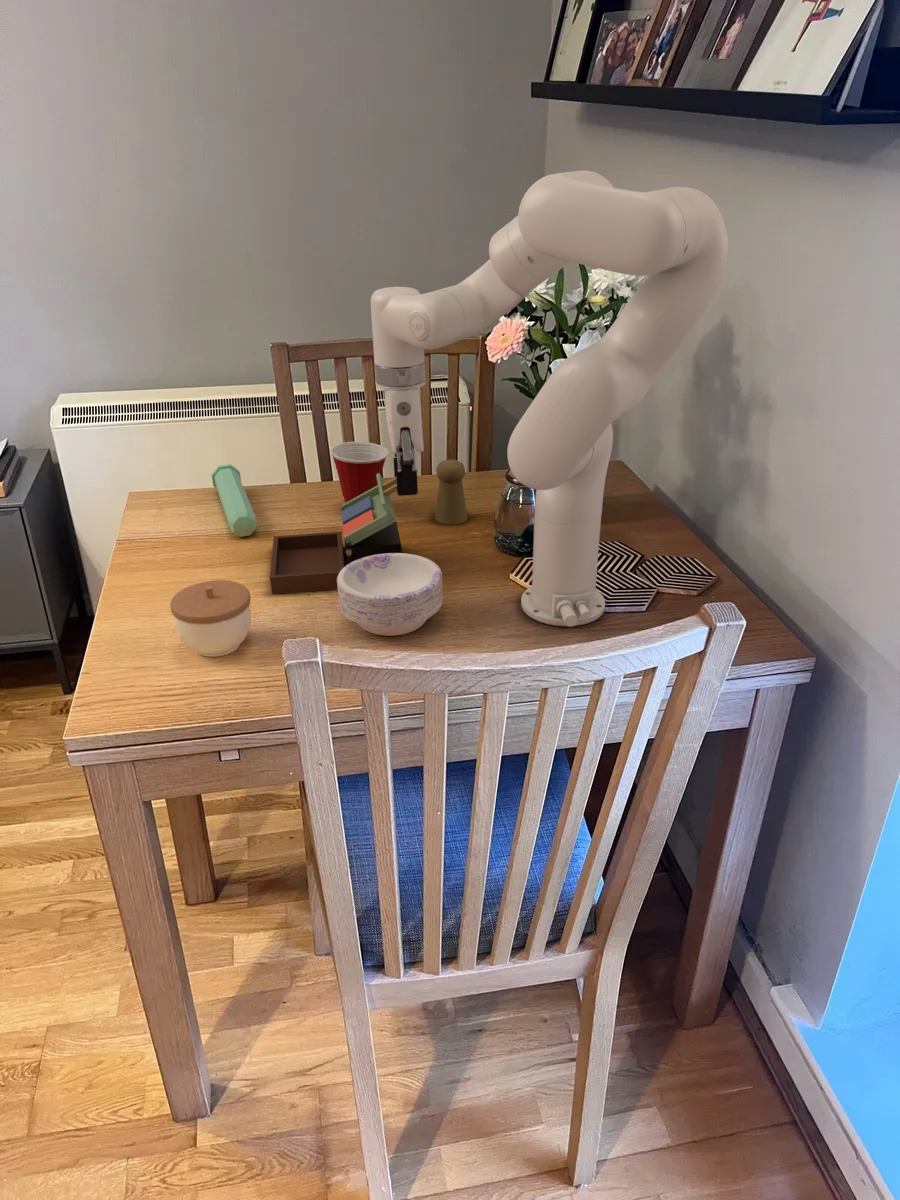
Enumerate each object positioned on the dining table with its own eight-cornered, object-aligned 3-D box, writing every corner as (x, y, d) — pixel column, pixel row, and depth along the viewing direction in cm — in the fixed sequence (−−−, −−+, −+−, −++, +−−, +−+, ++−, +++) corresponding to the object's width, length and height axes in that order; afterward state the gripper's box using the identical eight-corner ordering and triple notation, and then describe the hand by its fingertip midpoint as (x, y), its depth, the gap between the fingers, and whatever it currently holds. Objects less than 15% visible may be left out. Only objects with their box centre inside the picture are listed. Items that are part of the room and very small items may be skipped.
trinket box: (259, 623, 129) (251, 567, 124) (253, 663, 120) (244, 603, 115) (185, 629, 128) (174, 572, 123) (173, 669, 118) (161, 609, 114)
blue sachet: (373, 510, 141) (371, 506, 141) (344, 526, 142) (341, 522, 142) (372, 499, 145) (369, 495, 145) (343, 515, 146) (341, 511, 146)
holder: (346, 588, 138) (344, 571, 137) (272, 594, 137) (269, 577, 135) (342, 547, 152) (341, 531, 150) (275, 551, 150) (273, 536, 149)
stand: (404, 586, 138) (402, 543, 135) (348, 590, 137) (345, 547, 134) (395, 541, 153) (393, 501, 150) (345, 544, 152) (341, 504, 149)
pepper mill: (468, 512, 164) (468, 456, 159) (466, 525, 159) (465, 468, 154) (436, 511, 165) (435, 455, 160) (433, 524, 160) (431, 467, 154)
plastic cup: (389, 520, 161) (386, 458, 156) (331, 520, 162) (325, 459, 156) (393, 498, 171) (390, 439, 165) (338, 498, 171) (333, 439, 165)
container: (251, 506, 152) (231, 458, 173) (221, 522, 152) (205, 473, 172) (267, 532, 156) (246, 482, 176) (238, 548, 155) (220, 496, 176)
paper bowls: (379, 587, 138) (376, 542, 134) (461, 610, 131) (461, 563, 128) (319, 630, 127) (314, 582, 123) (406, 658, 120) (404, 608, 116)
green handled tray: (427, 504, 134) (416, 484, 133) (348, 547, 136) (336, 529, 134) (418, 474, 146) (407, 455, 144) (345, 514, 148) (334, 496, 146)
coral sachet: (376, 524, 136) (373, 520, 136) (345, 540, 137) (343, 537, 137) (374, 513, 140) (371, 509, 140) (344, 529, 141) (342, 525, 141)
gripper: (430, 387, 124) (435, 506, 133) (419, 360, 139) (424, 468, 147) (378, 390, 123) (385, 509, 132) (372, 362, 138) (379, 471, 147)
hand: (406, 486), depth 140 cm, fingers closed on green handled tray, 5 cm apart
